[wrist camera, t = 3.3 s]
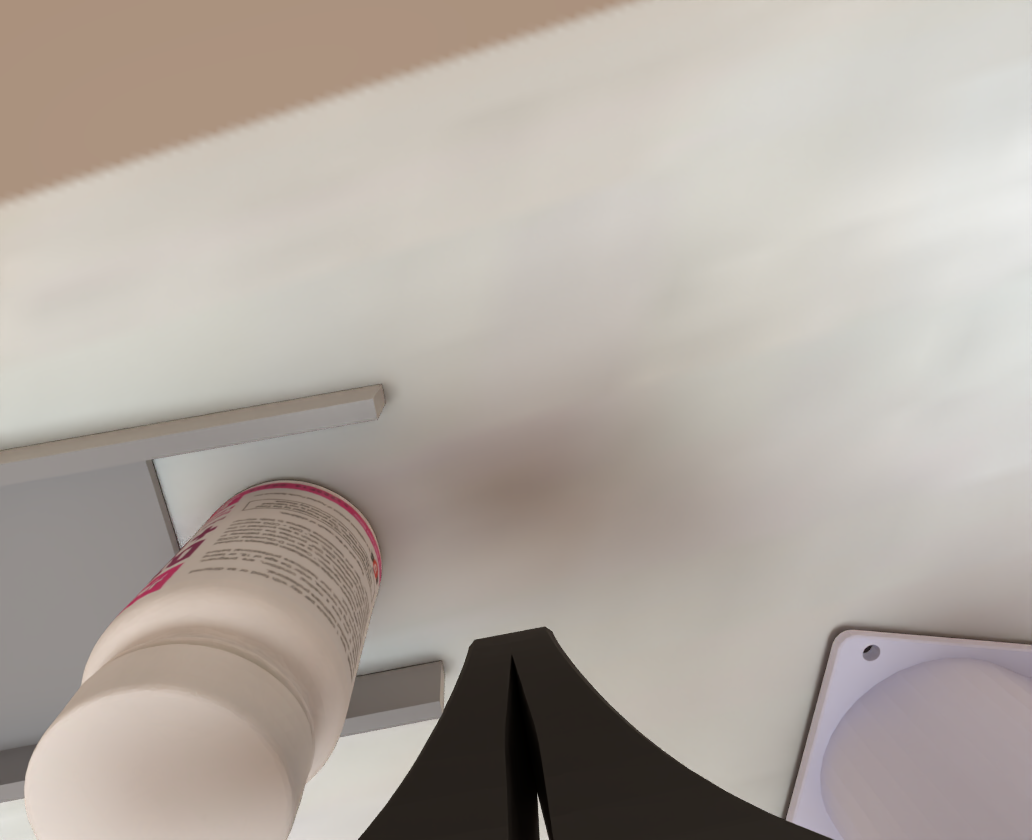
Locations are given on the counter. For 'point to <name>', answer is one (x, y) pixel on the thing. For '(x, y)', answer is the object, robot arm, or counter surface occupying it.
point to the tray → (132, 561)
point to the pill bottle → (217, 680)
